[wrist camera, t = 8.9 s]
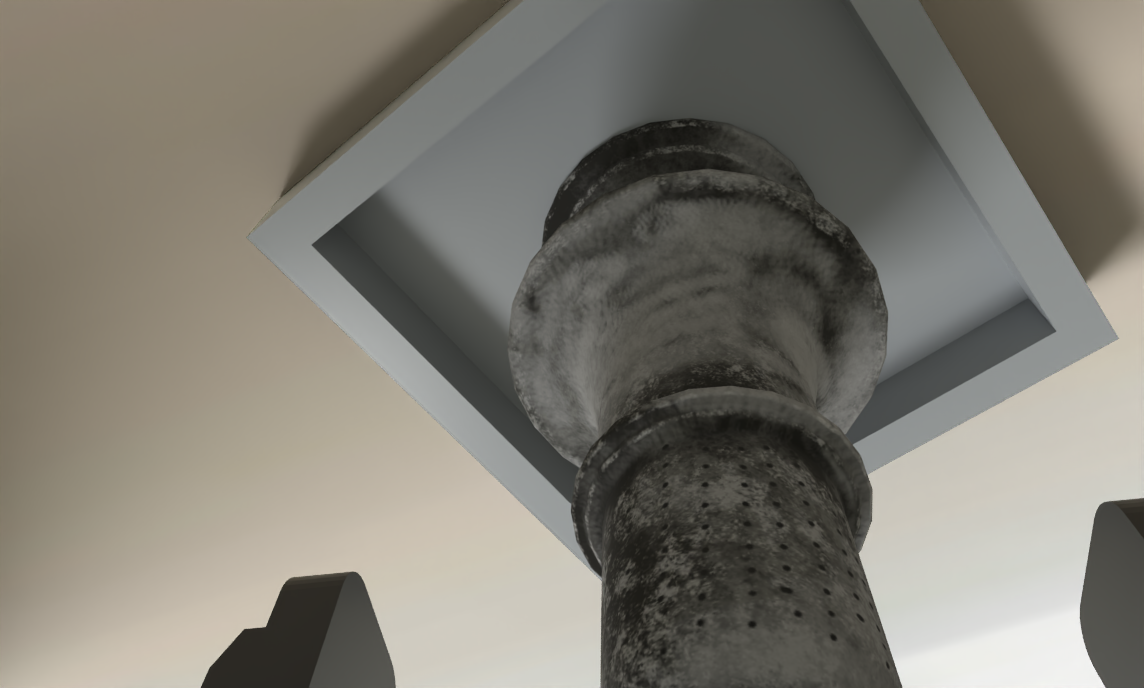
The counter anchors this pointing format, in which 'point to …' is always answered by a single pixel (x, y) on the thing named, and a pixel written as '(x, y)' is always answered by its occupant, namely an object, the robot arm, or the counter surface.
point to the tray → (668, 92)
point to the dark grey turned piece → (709, 409)
